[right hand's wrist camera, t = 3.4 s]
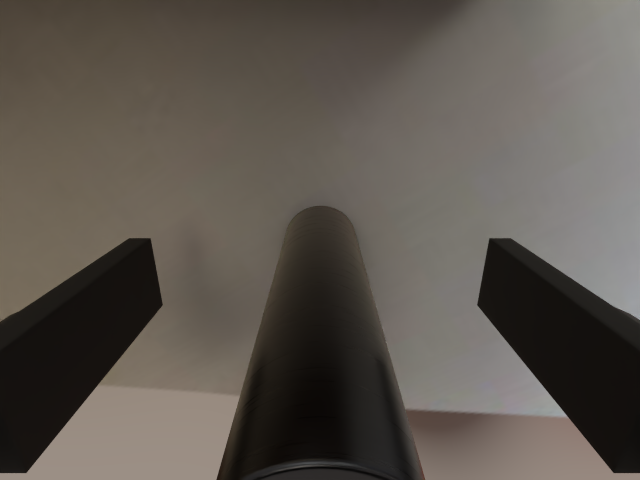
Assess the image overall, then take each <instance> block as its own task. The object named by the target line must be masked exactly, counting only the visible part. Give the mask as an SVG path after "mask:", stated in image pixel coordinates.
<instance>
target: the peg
mask: <svg viewBox="0 0 640 480" xmlns="http://www.w3.org/2000/svg"><path fill="white" fill-rule="evenodd" d="M217 480H425V478H424V474H423V471H422V467H421V463H420V460H419V457H418V453H417V449H416V446H415V442H414V439H413V435H412V432H411V428H410V425H409V421H408V418H407V414H406V411H405V407H404V404H403V400H402V396H401V393H400V389H399V386H398V382H397V379H396V375H395V372H394V368H393V365H392V361H391V358H390V354H389V351H388V347H387V344H386V340H385V337H384V333H383V330H382V326H381V322H380V319H379V315H378V312H377V308H376V305H375V301H374V298H373V294H372V291H371V287H370V284H369V280H368V277H367V273H366V270H365V266H364V263H363V259H362V255H361V252H360V248H359V245H358V241H357V238H356V234H355V231H354V228H353V226H352V223H351V222H350V220H349V219H348V218H347V217H346V216H345V215H344V214H343V213H341V212H340V211H338V210H336V209H334V208H331V207H327V206H315V207H310V208H307V209H305V210H303V211H301V212H300V213H298V214H297V215H296V216H295V217H294V218H293V219H292V221H291V222H290V224H289V226H288V228H287V232H286V235H285V239H284V242H283V246H282V249H281V253H280V256H279V260H278V264H277V267H276V271H275V274H274V278H273V281H272V285H271V288H270V292H269V295H268V299H267V303H266V306H265V310H264V313H263V317H262V320H261V324H260V327H259V331H258V334H257V338H256V342H255V345H254V349H253V352H252V356H251V359H250V363H249V366H248V370H247V373H246V377H245V381H244V384H243V388H242V391H241V395H240V398H239V402H238V405H237V409H236V413H235V416H234V420H233V423H232V427H231V430H230V434H229V437H228V441H227V444H226V448H225V452H224V455H223V459H222V462H221V466H220V469H219V473H218V476H217Z"/></svg>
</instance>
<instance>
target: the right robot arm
mask: <svg viewBox="0 0 640 480" xmlns="http://www.w3.org/2000/svg"><path fill="white" fill-rule="evenodd" d="M162 305H163V304H162V298H161V293H160V287H159V282H158V276H157V271H156V265H155V260H154V254H153V249H152V244H151V238H129V239H128V240H126V241H125V242H123V243H122V244H120V245H119V246H117V247H116V248H114V249H113V250H111V251H110V252H108V253H107V254H105V255H104V256H102V257H101V258H99V259H98V260H96V261H95V262H93V263H91V264H90V265H88V266H87V267H85V268H84V269H82V270H81V271H79V272H78V273H76V274H75V275H73V276H72V277H70V278H69V279H67V280H66V281H64V282H63V283H61V284H60V285H58V286H57V287H55V288H54V289H52V290H51V291H49V292H48V293H46V294H45V295H43V296H42V297H40V298H39V299H37V300H36V301H34V302H33V303H31V304H30V305H28V306H27V307H25V308H24V309H22V310H21V311H19V312H17V313H15V314H12V315H10V316H9V317H7V318H5V319H4V320H2V321H1V322H0V473H27V471H28V470H29V469H30V468H31V466H32V465H33V464H34V463H35V462H36V460H37V459H38V458H39V457H40V455H41V454H42V453H43V452H44V450H45V449H46V448H47V447H48V446H49V444H50V443H51V442H52V441H53V439H54V438H55V437H56V436H57V435H58V433H59V432H60V431H61V430H62V428H63V427H64V426H65V425H66V423H67V422H68V421H69V420H70V419H71V417H72V416H73V415H74V414H75V412H76V411H77V410H78V409H79V407H80V406H81V405H82V404H83V403H84V401H85V400H86V399H87V398H88V396H89V395H90V394H91V393H92V391H93V390H94V389H95V388H96V387H97V385H98V384H99V383H100V382H101V380H102V379H103V378H104V377H105V375H106V374H107V373H108V372H109V371H110V369H111V368H112V367H113V366H114V364H115V363H116V362H117V361H118V359H119V358H120V357H121V356H122V355H123V353H124V352H125V351H126V350H127V348H128V347H129V346H130V345H131V343H132V342H133V341H134V340H135V339H136V337H137V336H138V335H139V334H140V332H141V331H142V330H143V329H144V328H145V326H146V325H147V324H148V323H149V321H150V320H151V319H152V318H153V316H154V315H155V314H156V313H157V312H158V310H159V309H160V308H161V307H162ZM477 305H478V307H479V308H480V309H481V310H482V312H483V313H484V314H485V315H486V316H487V318H488V319H489V320H490V321H491V323H492V324H493V325H494V326H495V327H496V329H497V330H498V331H499V332H500V334H501V335H502V336H503V337H504V339H505V340H506V341H507V342H508V343H509V345H510V346H511V347H512V348H513V350H514V351H515V352H516V353H517V355H518V356H519V357H520V358H521V359H522V361H523V362H524V363H525V364H526V366H527V367H528V368H529V369H530V371H531V372H532V373H533V374H534V375H535V377H536V378H537V379H538V380H539V382H540V383H541V384H542V385H543V387H544V388H545V389H546V390H547V391H548V393H549V394H550V395H551V396H552V398H553V399H554V400H555V401H556V403H557V404H558V405H559V406H560V407H561V409H562V410H563V411H564V412H565V414H566V415H567V416H568V417H569V419H570V420H571V421H572V422H573V423H574V425H575V426H576V427H577V428H578V430H579V431H580V432H581V433H582V435H583V436H584V437H585V438H586V439H587V441H588V442H589V443H590V444H591V446H592V447H593V448H594V449H595V450H596V452H597V453H598V454H599V455H600V457H601V458H602V459H603V460H604V461H605V463H606V464H607V465H608V466H609V468H610V469H611V470H612V471H613V473H640V320H639V319H637V318H636V317H634V316H633V315H631V314H629V313H627V312H624V311H622V310H620V309H618V308H615V307H613V306H612V305H610V304H609V303H607V302H606V301H604V300H603V299H601V298H600V297H598V296H597V295H595V294H594V293H592V292H591V291H589V290H588V289H586V288H585V287H583V286H582V285H580V284H579V283H577V282H576V281H574V280H573V279H571V278H570V277H568V276H567V275H565V274H564V273H562V272H561V271H559V270H558V269H556V268H555V267H553V266H552V265H550V264H549V263H547V262H546V261H544V260H542V259H541V258H539V257H538V256H536V255H535V254H533V253H532V252H530V251H529V250H527V249H526V248H524V247H523V246H521V245H520V244H518V243H517V242H515V241H514V240H512V239H511V238H489V244H488V249H487V255H486V260H485V266H484V271H483V276H482V282H481V287H480V293H479V298H478V304H477Z"/></svg>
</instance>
